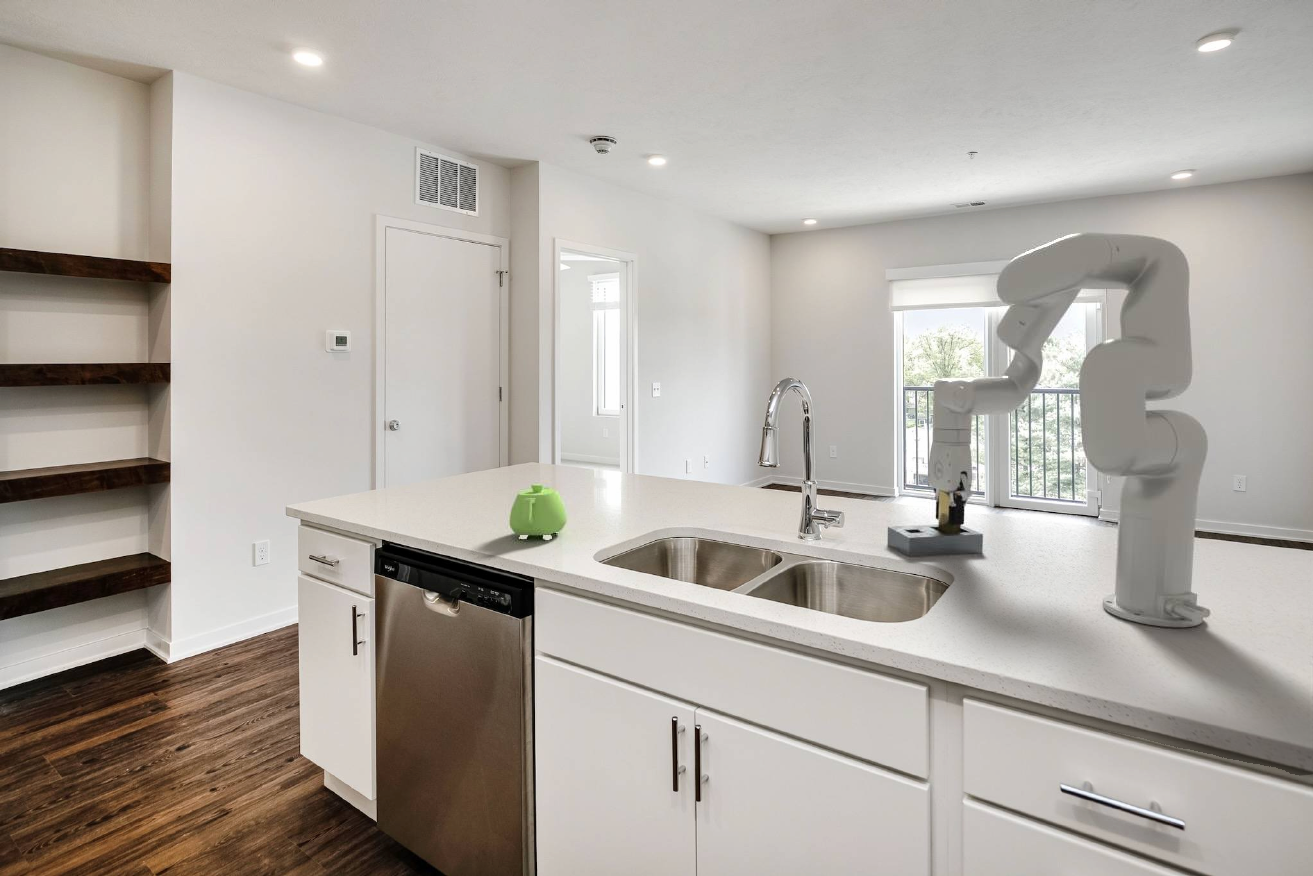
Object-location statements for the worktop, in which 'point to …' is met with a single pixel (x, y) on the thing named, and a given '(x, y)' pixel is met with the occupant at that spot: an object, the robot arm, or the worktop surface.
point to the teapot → (538, 512)
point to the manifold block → (933, 541)
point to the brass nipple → (946, 513)
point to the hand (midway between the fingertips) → (949, 520)
